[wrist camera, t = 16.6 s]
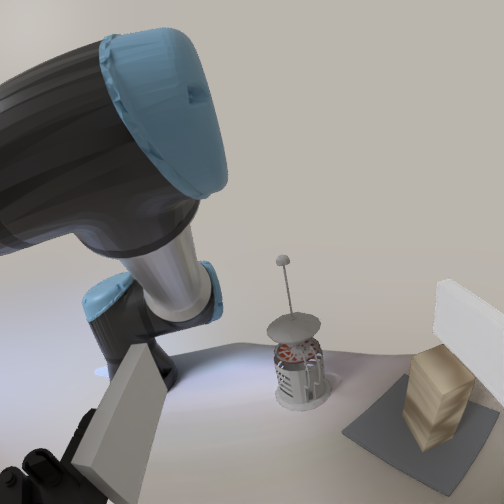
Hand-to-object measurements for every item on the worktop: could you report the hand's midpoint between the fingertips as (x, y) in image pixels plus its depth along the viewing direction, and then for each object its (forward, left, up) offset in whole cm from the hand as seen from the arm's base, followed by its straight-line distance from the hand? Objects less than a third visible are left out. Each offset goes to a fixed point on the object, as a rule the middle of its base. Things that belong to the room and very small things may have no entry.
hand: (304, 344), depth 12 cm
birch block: (-1, +21, -29) cm, 36 cm away
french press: (-22, +15, -30) cm, 40 cm away
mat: (-1, +21, -30) cm, 36 cm away
